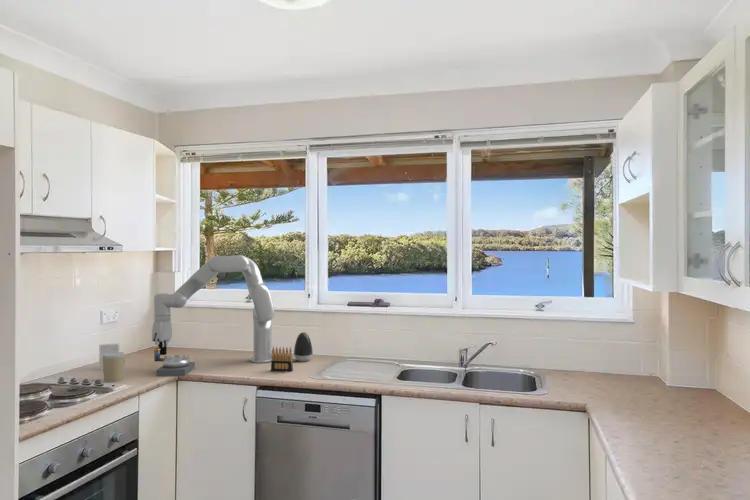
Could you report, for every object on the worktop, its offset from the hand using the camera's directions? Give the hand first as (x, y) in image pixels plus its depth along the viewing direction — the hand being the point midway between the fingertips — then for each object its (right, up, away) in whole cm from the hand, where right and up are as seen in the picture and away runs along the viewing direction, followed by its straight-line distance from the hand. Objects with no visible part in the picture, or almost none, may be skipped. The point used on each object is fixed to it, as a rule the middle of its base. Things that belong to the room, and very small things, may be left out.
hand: (162, 354), depth 247 cm
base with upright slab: (-28, -8, +2) cm, 29 cm away
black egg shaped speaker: (+68, -8, +20) cm, 71 cm away
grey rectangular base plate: (+9, -7, -6) cm, 13 cm away
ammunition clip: (+61, -8, -4) cm, 61 cm away
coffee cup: (-13, -7, -22) cm, 26 cm away
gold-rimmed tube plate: (+6, -4, -5) cm, 9 cm away
